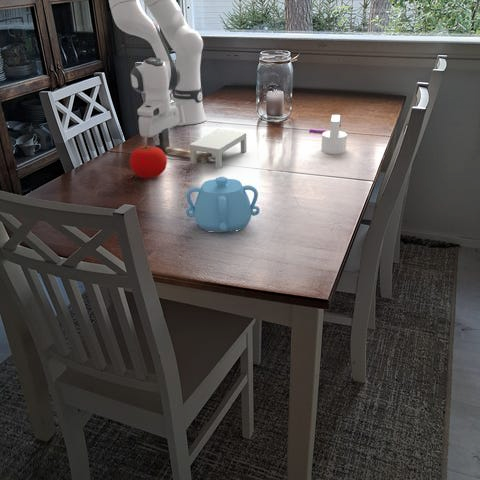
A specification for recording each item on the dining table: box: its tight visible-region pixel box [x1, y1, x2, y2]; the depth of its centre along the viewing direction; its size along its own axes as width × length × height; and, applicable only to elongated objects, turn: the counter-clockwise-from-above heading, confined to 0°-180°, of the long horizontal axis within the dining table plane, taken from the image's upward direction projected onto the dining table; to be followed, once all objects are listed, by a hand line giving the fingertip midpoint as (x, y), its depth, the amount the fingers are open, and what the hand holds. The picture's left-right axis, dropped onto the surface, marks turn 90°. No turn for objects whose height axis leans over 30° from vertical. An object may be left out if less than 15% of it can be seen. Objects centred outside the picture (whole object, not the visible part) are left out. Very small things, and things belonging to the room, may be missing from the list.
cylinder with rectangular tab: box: [321, 114, 348, 155], centre depth 190 cm, size 9×9×12 cm
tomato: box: [129, 144, 168, 179], centre depth 171 cm, size 11×12×10 cm
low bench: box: [189, 128, 247, 169], centre depth 187 cm, size 12×20×7 cm, turn 152°
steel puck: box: [206, 154, 216, 164], centre depth 185 cm, size 5×5×2 cm
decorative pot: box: [185, 176, 261, 233], centre depth 138 cm, size 16×16×14 cm
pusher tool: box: [154, 128, 213, 163], centre depth 188 cm, size 22×6×9 cm, turn 61°
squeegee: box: [308, 128, 327, 134], centre depth 210 cm, size 29×2×10 cm
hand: (162, 142), depth 193 cm, fingers closed on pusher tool, 3 cm apart
